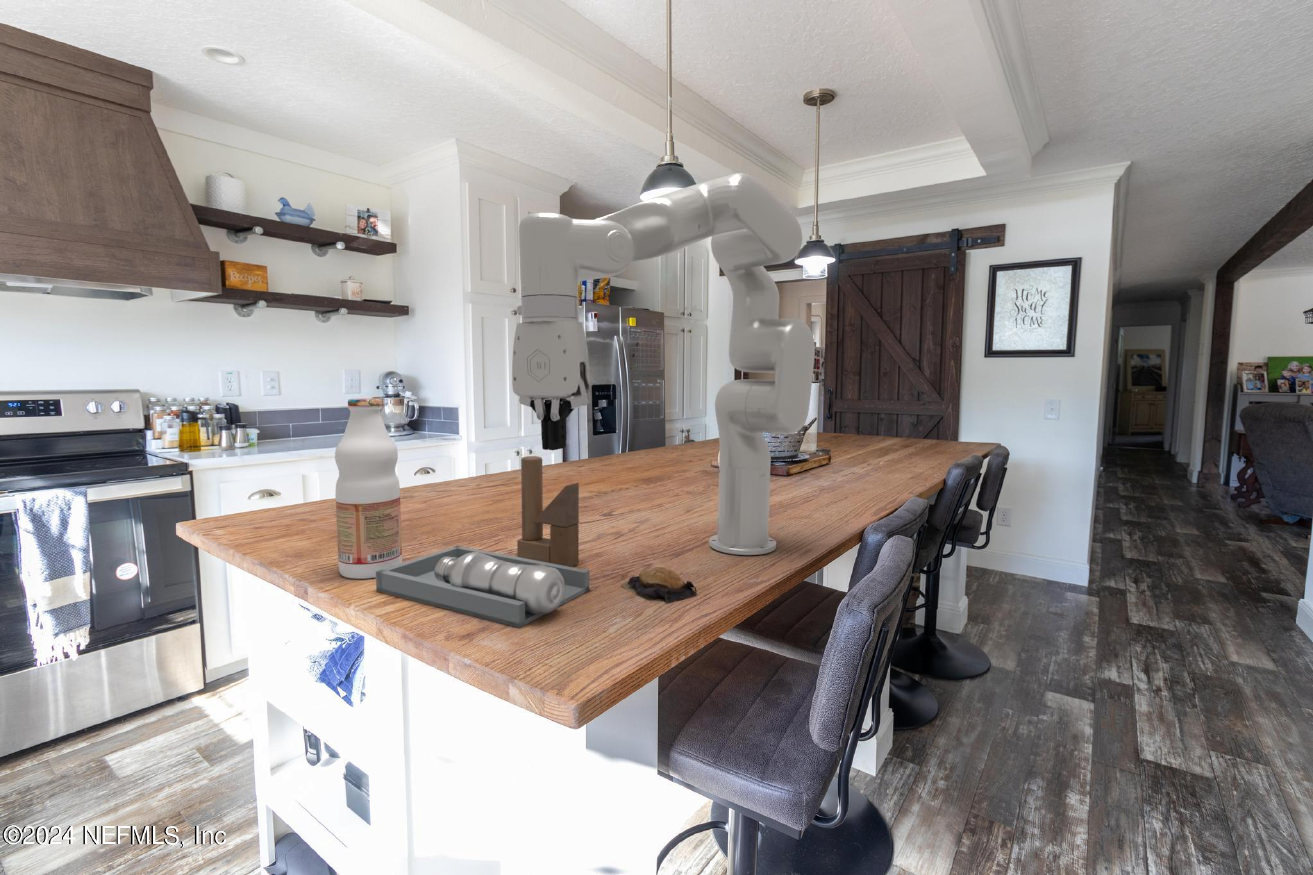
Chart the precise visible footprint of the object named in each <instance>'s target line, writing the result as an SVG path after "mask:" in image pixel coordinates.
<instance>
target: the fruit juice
mask: <svg viewBox="0 0 1313 875" xmlns="http://www.w3.org/2000/svg"><path fill="white" fill-rule="evenodd" d="M382 406H383V402H382V399H381V398H349V399H348V400H347V409H348V410H349V411H350V414H349V418H348V420H347V424H346V427H345V430H344V433H343V435H342V437H341V440H340V441H339V443H338V445H337V446H336V448H335V452H334V454H335V455H334V456H335V457H334V460H335V465H336V467H337V470H338V478H337V480H336V482H335V508H336V509H335V513H336V534H337V535H336V537H337V557H338V559H337V560H338V571H339V573H340V575H341V576H342V577H344V578H347V579H352V580H353V579H355V580H357V579H358V580H361V579H362V580H365V579H372V578H375V579H376V571H379V570H382V569H385V568H389V567H392V566H395V565H398V564H401V563H403V550H402V549H403V548H402V547H403V545H402V520H401V519H402V515H401V514H402V512H401V488H400V482H399V481H400V480H399V478H398V475H397V473H396V467H397V462H398V459H399V453H398V448H397V445H396V443H395V442H394V440H393V439H392V438H391V436H390V434H389V432H388V430H387V428H386V425H385V422H384V420H383V417H382V414H381V410H382V409H383V407H382Z"/></svg>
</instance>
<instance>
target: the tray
mask: <svg viewBox="0 0 1313 875" xmlns="http://www.w3.org/2000/svg"><path fill="white" fill-rule="evenodd" d="M472 552H479V553H482V554H485V555H488V556H490V557H493V558H496V559H498V560H502V561H506V562H509V563H514V564H524V565H537V564H538V565H548V566H551V567H553V568H555V569H557V570H558V571H559V572H560V573H561V575H562V576H563V578H564V584H565V588H564V594H563V597H562V600H561V602H560V604H559V605H558V607H557V608H559V607H561V606H562V605H565V604H566V603H568V602H570V601H572V600H573V599H576V598H577V597H579V596H581V595H584V594H585V593H587V592H589V591H590V586H591V585H590V584H591V583H590V582H591V581H590V580H591V579H590V577H591V576H590V574H591V572H590V570H589V569H583V568H577V567H574V566H573V567H568V566H563V565H557V564H552V563H547V562H542V561H536V560H531V559H526V558H520V557H518V556H514V555H508V554H506V553H505V554H504V553H499V552H493V551H490V550H489V551H488V550H483V549H477V548H472V547H466V546H461V545H455V546H452V547H448V548H445V549H442V550H439V551H436V552H433V553H430V554H426V555H423V556H420V557H418V558H414V559H411V560H407V561H404V562H402V563H401V564H398V565H395V566H392V567H389V568H385V569H382V570H379V571H376V577H375V587H376V588H375V589H376V590H375V592H377V593H381V594H385V595H389V596H393V597H398V598H400V599H401V598H402V599H405V600H409V601H413V602H417V603H419V604H423V605H428V606H431V607H437V608H440V609H443V610H449V611H451V612H454V613H459V614H463V615H467V616H469V617H470V616H471V617H474V618H479V619H482V620H486V621H491V622H493V623H498V624H502V625H506V626H508V627H509V626H510V627H513V628H517V629H520V628H522V627H523V626H525V625H527V624H530V623H531V622H533V621H535V620H536V619H539V618H541V617H543V616H544V615H545V614H532V613H529V612H527V611H525V602H522V601H517V600H513V599H509V598H504V597H500V596H496V595H491V594H487V593H483V592H478V591H474V590H470V589H465V588H461V587H456V586H452V585H451V584H448V583H445V582H442V581H439V580H437V579H436V577H435V574H434V570H435V566H436V564H437V562H438V561H439V560H440V559H441V558H443V557H456V558H460V557H461V556H463V555H465V554H467V553H472Z"/></svg>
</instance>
